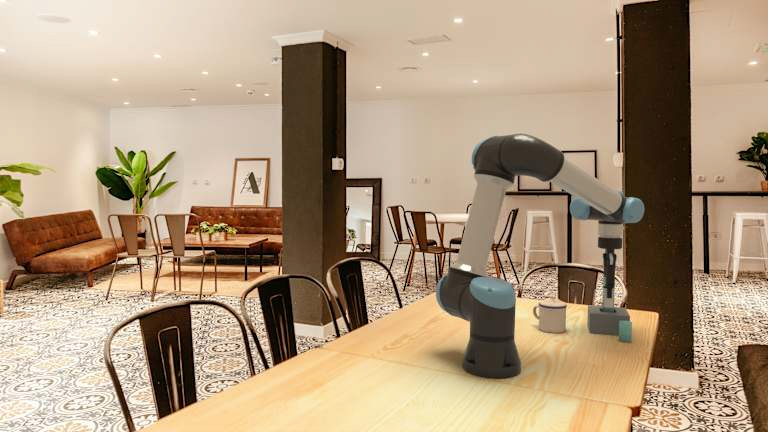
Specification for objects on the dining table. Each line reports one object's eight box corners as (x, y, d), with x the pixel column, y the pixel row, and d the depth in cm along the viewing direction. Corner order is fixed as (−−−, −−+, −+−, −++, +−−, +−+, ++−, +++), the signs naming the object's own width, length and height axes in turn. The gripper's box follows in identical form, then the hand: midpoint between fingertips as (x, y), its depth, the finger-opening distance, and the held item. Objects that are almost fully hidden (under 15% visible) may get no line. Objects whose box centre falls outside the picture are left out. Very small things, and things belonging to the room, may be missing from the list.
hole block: (629, 336, 170) (630, 316, 170) (589, 332, 174) (590, 313, 174) (624, 326, 182) (625, 307, 181) (587, 323, 185) (587, 305, 185)
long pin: (614, 323, 175) (615, 279, 174) (602, 322, 177) (603, 278, 176) (613, 321, 179) (614, 277, 178) (601, 320, 180) (602, 276, 179)
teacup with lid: (571, 330, 177) (572, 295, 177) (556, 335, 171) (557, 299, 171) (540, 322, 186) (541, 290, 186) (525, 327, 181) (525, 293, 180)
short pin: (632, 343, 163) (632, 323, 163) (619, 341, 164) (619, 322, 164) (630, 339, 166) (631, 320, 166) (618, 338, 168) (618, 320, 167)
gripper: (625, 239, 167) (623, 312, 169) (619, 234, 182) (617, 302, 184) (599, 238, 170) (597, 310, 171) (596, 234, 185) (594, 300, 186)
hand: (608, 306), depth 177 cm, fingers closed on long pin, 3 cm apart
